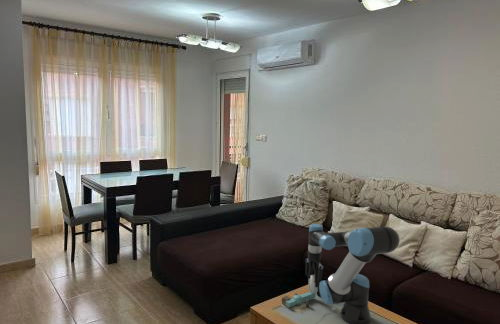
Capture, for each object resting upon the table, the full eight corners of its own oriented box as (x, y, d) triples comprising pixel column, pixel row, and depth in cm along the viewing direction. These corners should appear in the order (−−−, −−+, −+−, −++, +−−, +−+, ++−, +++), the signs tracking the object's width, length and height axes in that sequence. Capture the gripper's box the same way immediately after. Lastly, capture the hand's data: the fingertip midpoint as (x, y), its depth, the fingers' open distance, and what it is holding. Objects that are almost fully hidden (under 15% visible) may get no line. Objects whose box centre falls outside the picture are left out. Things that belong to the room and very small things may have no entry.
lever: (317, 297, 208) (318, 276, 206) (290, 308, 195) (291, 285, 194) (311, 294, 212) (312, 273, 210) (284, 304, 199) (285, 282, 198)
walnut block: (290, 304, 202) (290, 297, 201) (286, 306, 199) (287, 299, 199) (285, 302, 204) (285, 295, 204) (281, 304, 202) (281, 297, 201)
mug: (335, 298, 212) (336, 283, 211) (315, 297, 213) (315, 282, 212) (333, 292, 220) (334, 277, 219) (314, 290, 221) (314, 276, 220)
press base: (312, 307, 201) (312, 298, 201) (302, 315, 193) (302, 306, 192) (290, 299, 210) (290, 290, 209) (280, 306, 201) (280, 298, 200)
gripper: (330, 254, 201) (327, 294, 203) (309, 245, 214) (307, 283, 217) (320, 257, 197) (318, 298, 199) (300, 248, 210) (298, 286, 213)
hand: (312, 290), depth 208 cm, fingers open, 3 cm apart
